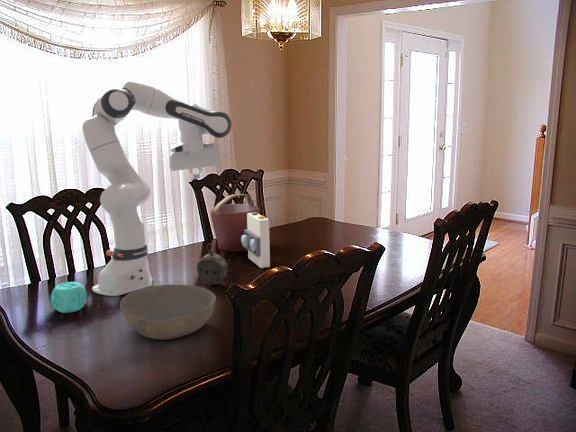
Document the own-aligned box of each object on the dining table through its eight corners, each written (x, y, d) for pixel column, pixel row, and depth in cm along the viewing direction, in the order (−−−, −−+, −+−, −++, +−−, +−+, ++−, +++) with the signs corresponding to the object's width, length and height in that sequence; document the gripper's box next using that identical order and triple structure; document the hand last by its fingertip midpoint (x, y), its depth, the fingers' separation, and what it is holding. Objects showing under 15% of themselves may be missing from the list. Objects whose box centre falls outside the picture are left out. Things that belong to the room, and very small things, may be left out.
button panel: (257, 268, 214) (256, 219, 210) (245, 258, 228) (243, 211, 224) (270, 266, 216) (268, 217, 212) (256, 256, 230) (255, 210, 226)
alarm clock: (228, 284, 196) (227, 242, 192) (223, 289, 191) (221, 246, 187) (202, 282, 199) (199, 240, 195) (195, 286, 193) (193, 244, 190)
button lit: (254, 252, 214) (254, 240, 213) (250, 249, 218) (250, 238, 217) (258, 252, 214) (258, 240, 213) (254, 249, 219) (254, 237, 218)
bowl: (106, 329, 158) (103, 298, 156) (184, 304, 176) (182, 276, 174) (154, 360, 138) (151, 324, 136) (235, 328, 157) (234, 297, 155)
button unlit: (245, 248, 220) (244, 236, 219) (241, 245, 225) (241, 234, 224) (249, 247, 221) (248, 236, 220) (245, 244, 226) (245, 233, 225)
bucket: (247, 238, 263) (245, 189, 258) (272, 247, 246) (271, 194, 240) (203, 246, 249) (200, 194, 244) (226, 256, 231) (224, 201, 226)
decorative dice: (69, 314, 169) (66, 291, 168) (52, 310, 173) (49, 287, 171) (88, 306, 176) (86, 283, 175) (71, 302, 180) (69, 280, 178)
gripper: (216, 141, 218) (219, 174, 222) (166, 147, 212) (170, 180, 216) (219, 143, 212) (222, 176, 216) (168, 149, 206) (172, 183, 210)
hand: (196, 178), depth 216 cm, fingers closed
